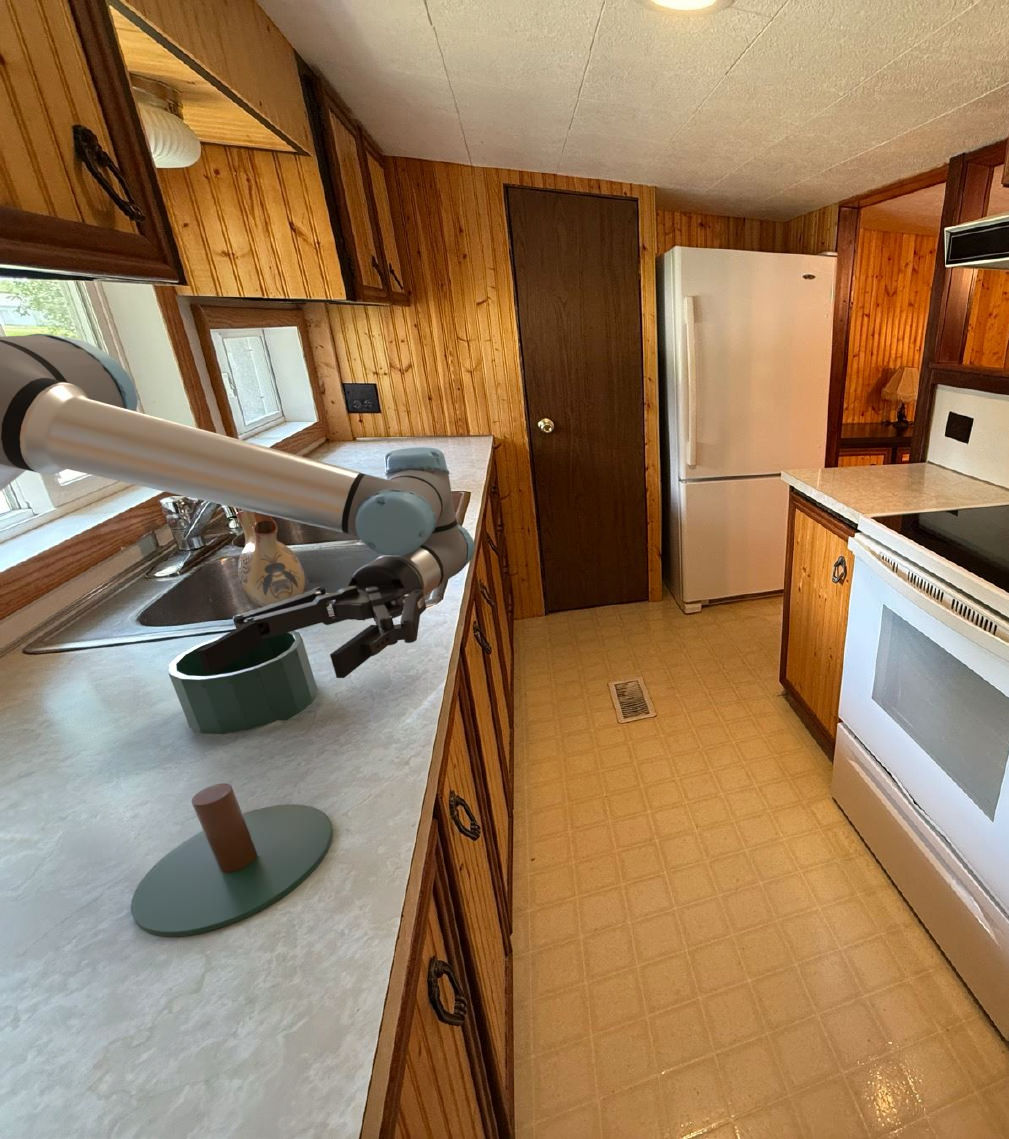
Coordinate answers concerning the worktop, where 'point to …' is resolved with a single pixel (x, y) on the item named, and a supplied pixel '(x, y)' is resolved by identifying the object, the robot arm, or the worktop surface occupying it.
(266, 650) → the pot
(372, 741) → the worktop surface
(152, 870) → the lid
